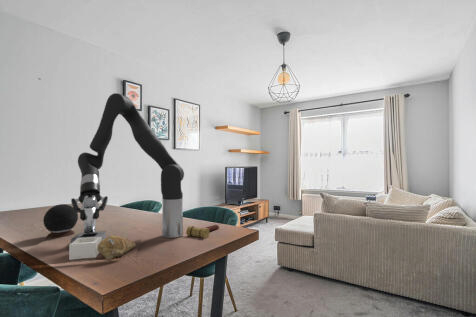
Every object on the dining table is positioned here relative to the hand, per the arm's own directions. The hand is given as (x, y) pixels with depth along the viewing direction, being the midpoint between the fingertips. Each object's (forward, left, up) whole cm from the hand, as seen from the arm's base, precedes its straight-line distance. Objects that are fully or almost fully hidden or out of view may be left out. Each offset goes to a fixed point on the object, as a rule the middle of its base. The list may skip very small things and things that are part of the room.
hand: (89, 218), depth 101 cm
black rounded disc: (+18, -21, -12) cm, 30 cm away
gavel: (-49, -10, -12) cm, 52 cm away
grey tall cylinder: (+1, -2, -6) cm, 6 cm away
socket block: (+1, -2, -11) cm, 12 cm away
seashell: (-14, +14, -12) cm, 23 cm away
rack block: (-2, +12, -11) cm, 17 cm away
